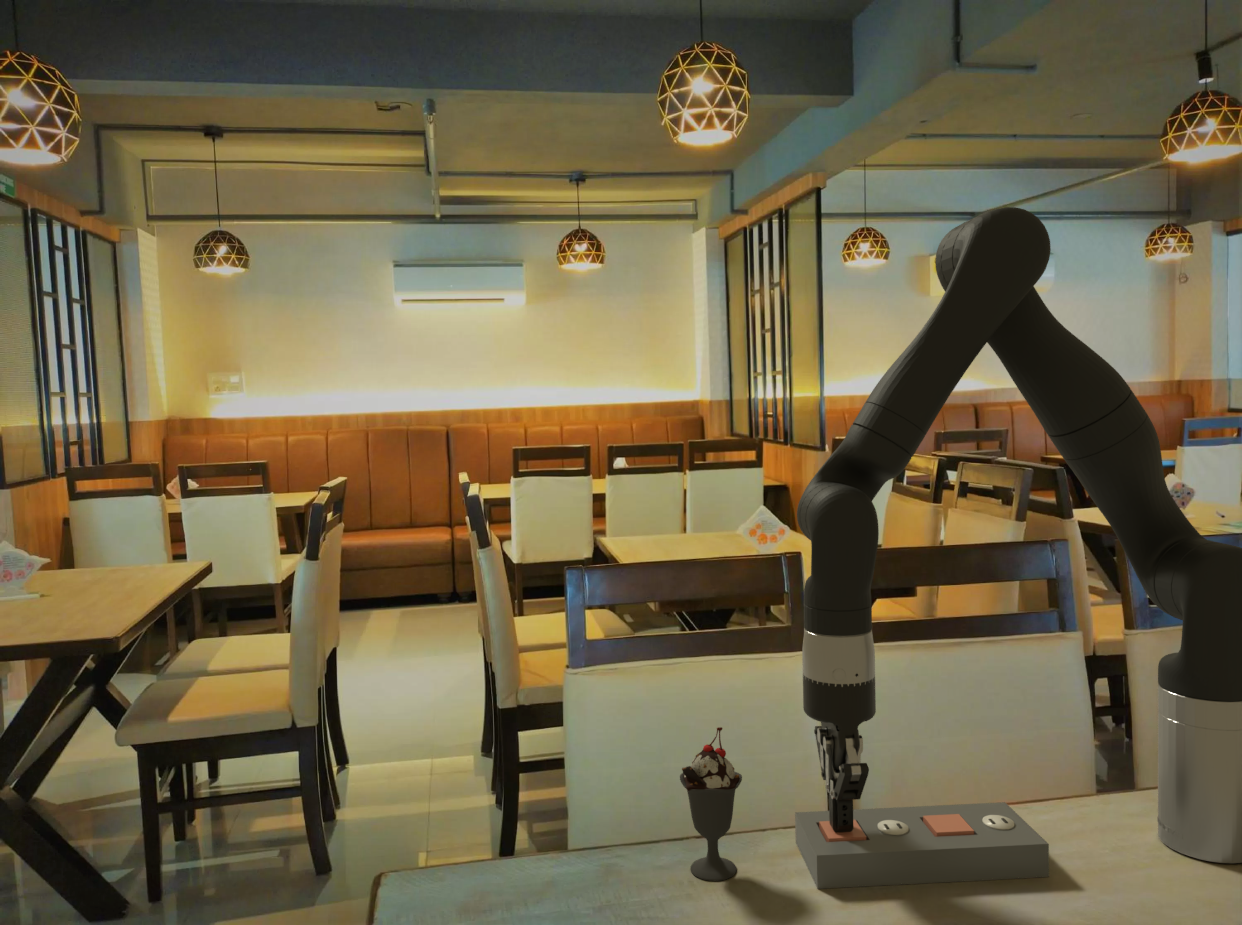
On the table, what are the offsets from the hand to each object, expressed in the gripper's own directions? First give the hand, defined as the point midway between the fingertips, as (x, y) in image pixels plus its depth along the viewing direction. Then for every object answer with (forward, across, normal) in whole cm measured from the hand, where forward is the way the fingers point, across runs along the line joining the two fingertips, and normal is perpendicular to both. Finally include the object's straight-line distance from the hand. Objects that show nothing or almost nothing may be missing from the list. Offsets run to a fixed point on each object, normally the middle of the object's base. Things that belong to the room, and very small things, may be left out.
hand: (841, 829), depth 99 cm
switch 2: (+2, 0, -12) cm, 12 cm away
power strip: (+4, 0, -8) cm, 9 cm away
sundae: (+4, 0, +14) cm, 14 cm away
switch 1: (+2, 0, 0) cm, 2 cm away
